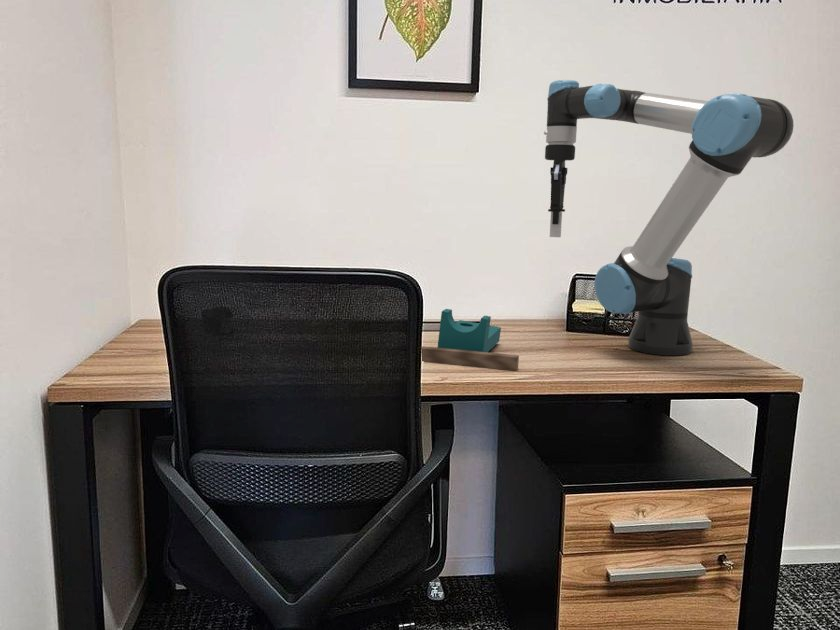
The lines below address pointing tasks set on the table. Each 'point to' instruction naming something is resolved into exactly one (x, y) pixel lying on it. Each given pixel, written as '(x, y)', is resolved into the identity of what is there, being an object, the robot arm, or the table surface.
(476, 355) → the walnut bar
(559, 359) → the table surface
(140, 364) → the table surface
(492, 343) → the teal notched cradle
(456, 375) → the table surface
